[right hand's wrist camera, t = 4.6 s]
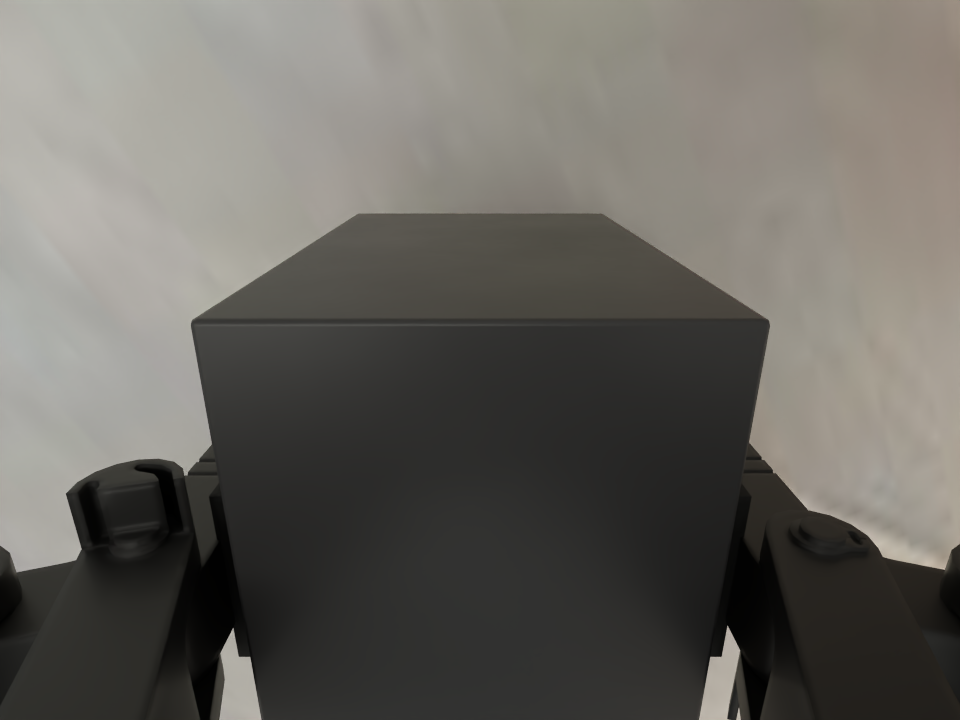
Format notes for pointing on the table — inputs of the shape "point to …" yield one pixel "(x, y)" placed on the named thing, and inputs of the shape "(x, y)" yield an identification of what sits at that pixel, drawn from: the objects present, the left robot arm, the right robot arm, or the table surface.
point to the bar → (480, 468)
